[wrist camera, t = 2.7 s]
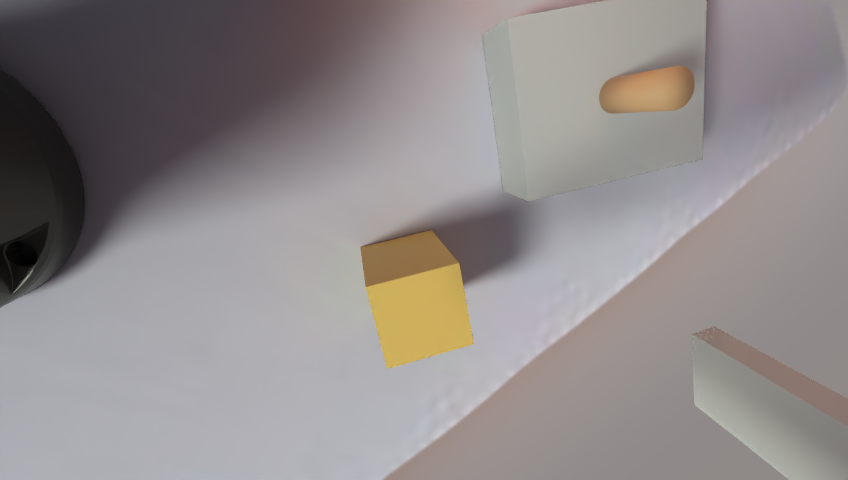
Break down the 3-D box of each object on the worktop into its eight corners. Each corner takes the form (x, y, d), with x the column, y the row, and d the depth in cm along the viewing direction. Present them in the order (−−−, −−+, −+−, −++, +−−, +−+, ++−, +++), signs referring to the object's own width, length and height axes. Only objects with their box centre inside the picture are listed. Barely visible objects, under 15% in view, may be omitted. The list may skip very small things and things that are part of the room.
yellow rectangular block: (377, 312, 28) (387, 368, 22) (360, 247, 27) (365, 287, 20) (444, 294, 29) (473, 344, 22) (431, 229, 27) (459, 263, 21)
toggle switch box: (503, 191, 27) (568, 217, 19) (482, 34, 24) (549, -11, 16) (655, 154, 29) (775, 165, 21) (654, 3, 26) (793, -53, 18)
